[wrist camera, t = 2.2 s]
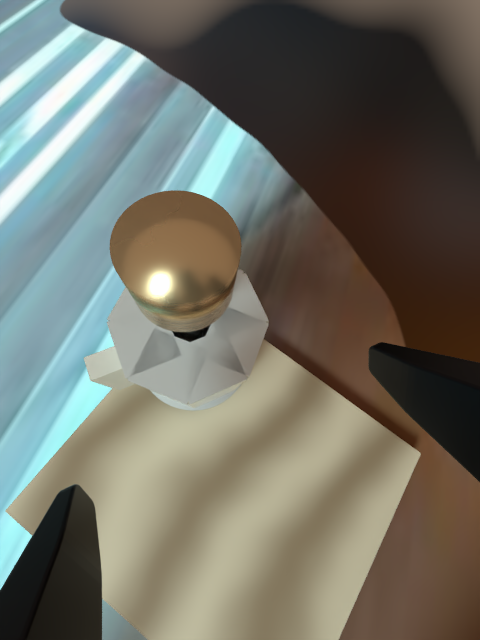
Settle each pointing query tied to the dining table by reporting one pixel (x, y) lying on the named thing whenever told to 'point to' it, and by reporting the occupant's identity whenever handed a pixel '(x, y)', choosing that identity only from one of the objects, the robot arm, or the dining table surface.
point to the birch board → (232, 505)
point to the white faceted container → (183, 352)
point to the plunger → (177, 260)
